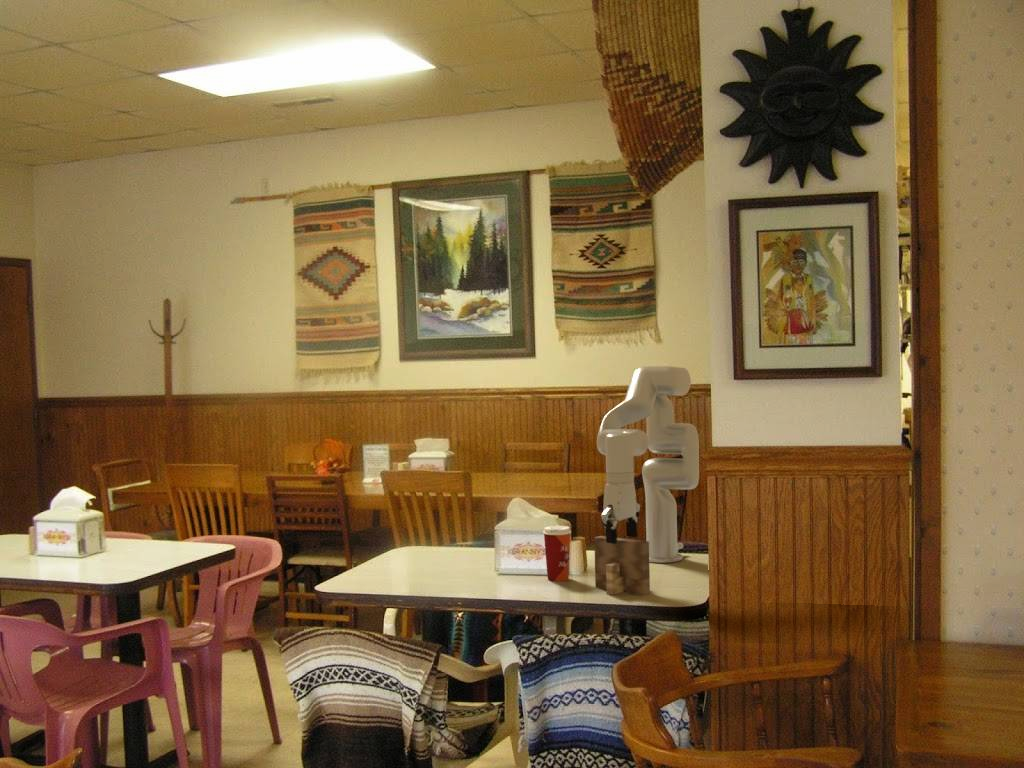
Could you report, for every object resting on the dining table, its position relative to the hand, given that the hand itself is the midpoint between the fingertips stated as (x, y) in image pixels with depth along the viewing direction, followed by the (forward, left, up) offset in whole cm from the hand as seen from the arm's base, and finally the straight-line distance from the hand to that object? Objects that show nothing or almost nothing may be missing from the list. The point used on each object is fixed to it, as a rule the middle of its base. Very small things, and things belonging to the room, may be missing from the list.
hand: (621, 539), depth 289 cm
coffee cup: (0, -23, -14) cm, 27 cm away
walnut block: (0, 0, -14) cm, 14 cm away
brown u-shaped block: (+1, 0, -14) cm, 14 cm away
